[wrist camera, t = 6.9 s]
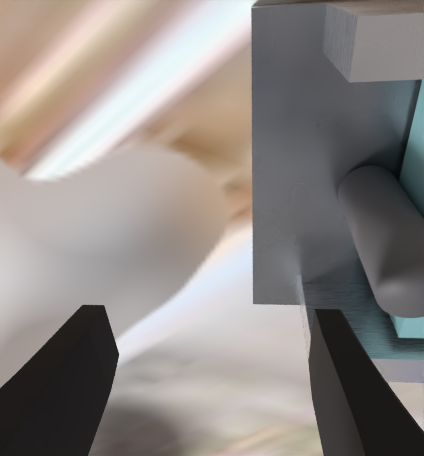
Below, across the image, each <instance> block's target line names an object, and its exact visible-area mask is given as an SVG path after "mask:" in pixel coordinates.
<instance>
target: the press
mask: <svg viewBox="0 0 424 456" xmlns="http://www.w3.org/2000/svg"><path fill="white" fill-rule="evenodd" d="M422 79H424V0H338V1H323V2H308V3H293V4H277V5H262V6H252V176H253V304H277V305H300V307H301V314H302V321H303V328H304V335H305V342H306V348H307V355H308V359H309V351H310V342H311V334H312V325H313V317H314V309H340V310H341V311H342V312H343V314H344V316H345V317H346V319H347V321H348V323H349V324H350V326H351V328H352V330H353V331H354V333H355V335H356V336H357V338H358V340H359V341H360V343H361V345H362V346H363V348H364V349H365V351H366V352H367V354H368V356H369V357H370V359H371V360H372V362H373V363H374V365H375V366H376V368H377V369H378V371H379V372H380V373H381V375H382V376H383V378H384V379H385V381H386V382H413V383H424V338H399V337H398V335H397V332H396V330H395V327H394V325H393V322H392V320H391V317H390V315H389V313H387V312H385V311H384V310H383V309H382V308H381V307H380V306H379V305H378V303H377V301H376V299H375V296H374V294H373V291H372V288H371V286H370V283H369V280H368V278H367V275H366V272H365V270H364V267H363V264H362V262H361V259H360V257H359V254H358V251H357V249H356V246H355V243H354V241H353V238H352V235H351V233H350V230H349V227H348V225H347V222H346V220H345V217H344V214H343V212H342V209H341V206H340V204H339V201H338V188H339V186H340V184H341V182H342V180H343V179H344V178H345V177H346V176H347V175H348V174H349V173H351V172H352V171H354V170H355V169H358V168H360V167H363V166H369V165H376V166H381V167H384V168H386V169H388V170H389V171H390V172H392V174H393V175H394V176H395V178H396V179H397V180H398V182H399V179H400V174H401V170H402V166H403V161H404V157H405V153H406V148H407V144H408V139H409V135H410V131H411V126H412V122H413V118H414V113H415V109H416V105H417V100H418V96H419V92H420V87H421V83H422Z"/></svg>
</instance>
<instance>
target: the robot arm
mask: <svg viewBox="0 0 424 456" xmlns="http://www.w3.org/2000/svg"><path fill="white" fill-rule="evenodd" d="M118 358H119V352H118V349H117V346H116V343H115V339H114V336H113V333H112V329H111V326H110V323H109V320H108V316H107V313H106V310H105V307H104V305H82V306H81V307H80V308H79V309H78V310H77V311H76V312H75V313H74V315H72V316H71V317H70V319H68V320H67V322H66V323H65V324H64V325H63V326H62V327H61V328H60V329H59V330H58V331H57V332H56V333H55V334H54V335H53V336H52V337H51V338H50V339H49V340H48V341H47V343H46V344H45V345H44V346H43V347H42V348H41V349H40V350H39V351H38V352H37V353H36V354H35V355H34V356H33V357H32V358H31V359H30V360H29V361H28V362H27V363H26V364H25V365H24V366H23V367H22V368H21V369H20V370H19V371H18V372H17V373H16V374H15V375H14V376H13V377H12V378H11V379H10V380H9V381H8V382H6V383H5V384H4V385H3V386H2V387H1V388H0V456H88V454H89V451H90V448H91V445H92V443H93V440H94V437H95V434H96V432H97V429H98V426H99V423H100V421H101V418H102V415H103V412H104V409H105V406H106V404H107V401H108V398H109V395H110V392H111V388H112V384H113V380H114V376H115V371H116V367H117V362H118ZM308 362H309V372H310V382H311V392H312V400H313V405H314V410H315V415H316V420H317V425H318V430H319V435H320V439H321V444H322V449H323V454H324V456H424V431H423V430H422V429H421V428H420V426H419V425H418V424H417V423H416V421H415V420H414V419H413V417H412V416H411V415H410V413H409V412H408V411H407V410H406V408H405V407H404V406H403V404H402V403H401V402H400V400H399V399H398V397H397V396H396V395H395V393H394V392H393V391H392V389H391V388H390V386H389V385H388V383H387V382H386V381H385V379H384V378H383V376H382V375H381V373H380V372H379V371H378V369H377V368H376V366H375V365H374V363H373V362H372V360H371V359H370V357H369V356H368V354H367V352H366V351H365V349H364V348H363V346H362V345H361V343H360V341H359V340H358V338H357V336H356V335H355V333H354V331H353V330H352V328H351V326H350V324H349V323H348V321H347V319H346V317H345V316H344V314H343V312H342V311H341V310H340V309H314V317H313V325H312V334H311V342H310V351H309V359H308Z"/></svg>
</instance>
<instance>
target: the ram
mask: <svg viewBox="0 0 424 456" xmlns="http://www.w3.org/2000/svg"><path fill="white" fill-rule="evenodd" d="M338 201H339V204H340V206H341V209H342V212H343V214H344V217H345V220H346V222H347V225H348V227H349V230H350V233H351V235H352V238H353V241H354V243H355V246H356V249H357V251H358V254H359V257H360V259H361V262H362V264H363V267H364V270H365V272H366V275H367V278H368V280H369V283H370V286H371V288H372V291H373V294H374V296H375V299H376V301H377V303H378V305H379V306H380V307H381V308H382V309H383V310H384V311H385V312H387V313H389V315H390V317H391V320H392V322H393V325H394V327H395V330H396V332H397V335H398V337H399V338H424V79H422V83H421V87H420V92H419V96H418V100H417V105H416V109H415V113H414V118H413V122H412V126H411V131H410V135H409V139H408V144H407V148H406V153H405V157H404V161H403V166H402V170H401V174H400V179H399V182H398V180H397V179H396V178H395V176H394V175H393V174H392V172H390V171H389V170H388V169H386V168H384V167H381V166H376V165H369V166H363V167H360V168H358V169H355V170H354V171H352V172H351V173H349V174H348V175H347V176H346V177H345V178H344V179H343V180H342V182H341V184H340V186H339V188H338Z"/></svg>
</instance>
